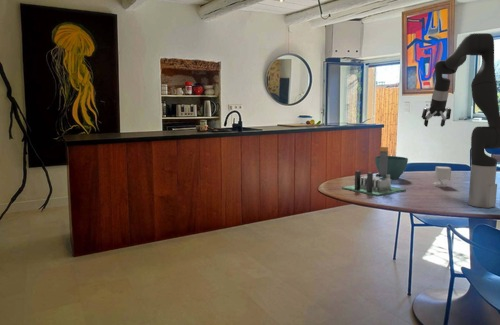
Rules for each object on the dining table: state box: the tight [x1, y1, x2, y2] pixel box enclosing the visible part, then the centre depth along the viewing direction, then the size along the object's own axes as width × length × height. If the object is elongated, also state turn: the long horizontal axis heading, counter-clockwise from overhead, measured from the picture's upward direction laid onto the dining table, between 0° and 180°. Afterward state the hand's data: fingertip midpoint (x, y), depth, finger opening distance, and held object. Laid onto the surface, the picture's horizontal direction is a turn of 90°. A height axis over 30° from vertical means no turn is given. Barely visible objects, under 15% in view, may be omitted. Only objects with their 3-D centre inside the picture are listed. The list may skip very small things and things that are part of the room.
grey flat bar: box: [378, 146, 389, 178], centre depth 201 cm, size 5×1×16 cm, turn 35°
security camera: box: [432, 166, 452, 188], centre depth 208 cm, size 6×7×10 cm
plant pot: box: [374, 155, 409, 180], centre depth 231 cm, size 18×18×12 cm
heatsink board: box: [341, 170, 407, 197], centre depth 198 cm, size 22×22×10 cm
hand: (433, 126), depth 217 cm, fingers open, 8 cm apart
